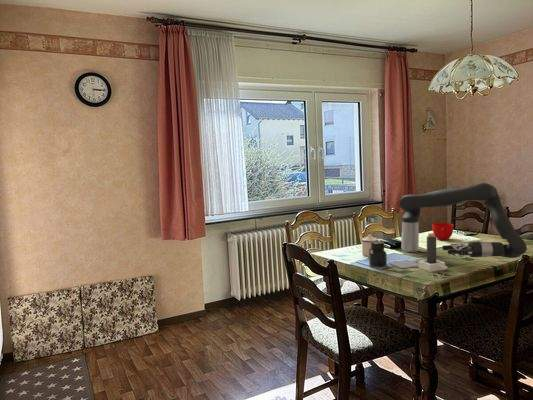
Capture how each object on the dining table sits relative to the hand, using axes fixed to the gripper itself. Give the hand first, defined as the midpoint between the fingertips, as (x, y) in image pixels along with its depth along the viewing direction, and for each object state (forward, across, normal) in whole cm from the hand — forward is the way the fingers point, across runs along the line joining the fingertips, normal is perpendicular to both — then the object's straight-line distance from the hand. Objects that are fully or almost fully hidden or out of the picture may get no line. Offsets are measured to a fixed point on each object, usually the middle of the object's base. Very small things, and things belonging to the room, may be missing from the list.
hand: (445, 249), depth 205 cm
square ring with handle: (+5, +3, +9) cm, 11 cm away
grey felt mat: (+18, -8, +10) cm, 22 cm away
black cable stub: (+6, 0, +9) cm, 11 cm away
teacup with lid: (+32, -32, +10) cm, 46 cm away
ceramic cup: (-19, -71, +10) cm, 74 cm away
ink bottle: (+31, -8, +10) cm, 34 cm away
